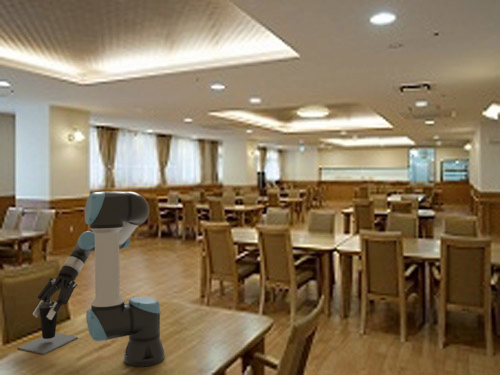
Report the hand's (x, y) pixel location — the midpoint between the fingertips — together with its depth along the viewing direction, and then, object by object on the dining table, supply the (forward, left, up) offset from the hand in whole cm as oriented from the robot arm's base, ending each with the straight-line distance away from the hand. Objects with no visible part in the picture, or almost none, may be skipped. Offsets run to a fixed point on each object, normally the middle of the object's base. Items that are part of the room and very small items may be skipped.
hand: (41, 316), depth 176 cm
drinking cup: (0, -4, -10) cm, 10 cm away
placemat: (0, -3, -12) cm, 13 cm away
